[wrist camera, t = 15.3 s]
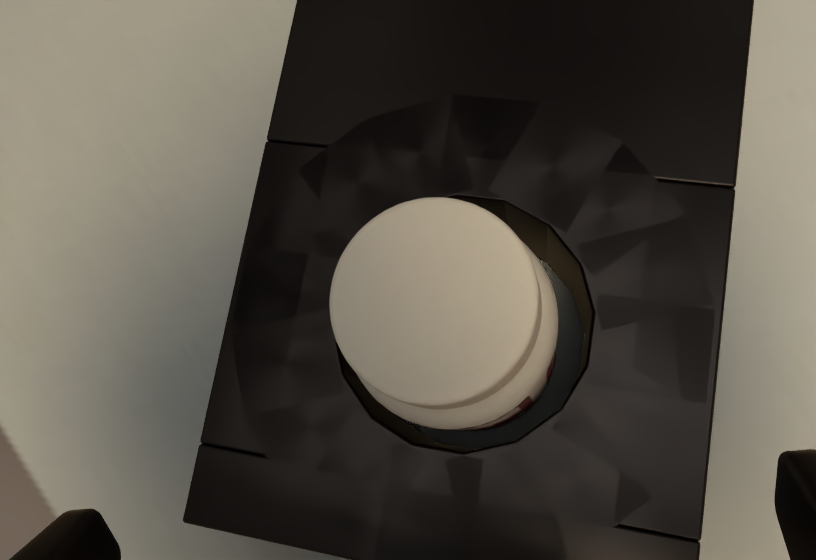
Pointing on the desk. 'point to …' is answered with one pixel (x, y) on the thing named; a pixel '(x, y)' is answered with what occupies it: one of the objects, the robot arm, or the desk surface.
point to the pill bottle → (445, 315)
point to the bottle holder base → (536, 227)
